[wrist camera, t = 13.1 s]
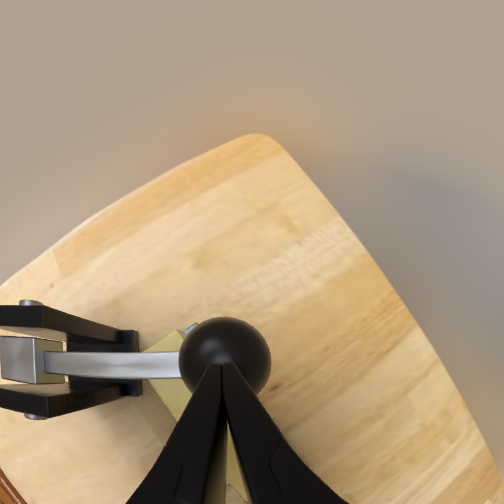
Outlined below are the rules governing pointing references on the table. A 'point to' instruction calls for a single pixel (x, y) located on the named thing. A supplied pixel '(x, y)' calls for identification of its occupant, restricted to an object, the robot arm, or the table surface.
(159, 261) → the table surface
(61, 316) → the stand
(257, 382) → the lever handle
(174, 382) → the butter
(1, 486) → the chocolate bar
